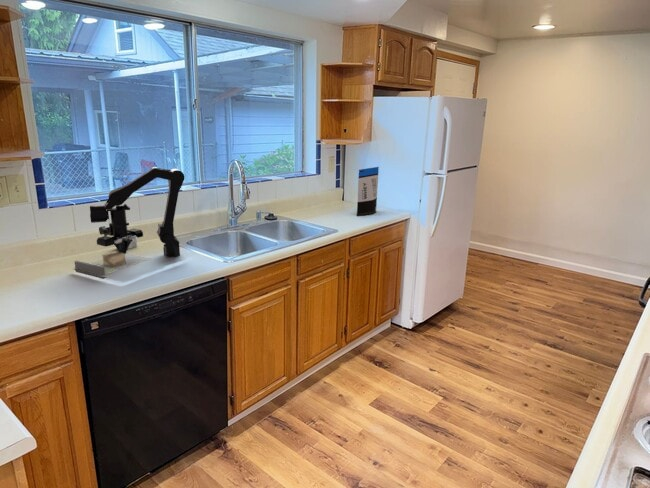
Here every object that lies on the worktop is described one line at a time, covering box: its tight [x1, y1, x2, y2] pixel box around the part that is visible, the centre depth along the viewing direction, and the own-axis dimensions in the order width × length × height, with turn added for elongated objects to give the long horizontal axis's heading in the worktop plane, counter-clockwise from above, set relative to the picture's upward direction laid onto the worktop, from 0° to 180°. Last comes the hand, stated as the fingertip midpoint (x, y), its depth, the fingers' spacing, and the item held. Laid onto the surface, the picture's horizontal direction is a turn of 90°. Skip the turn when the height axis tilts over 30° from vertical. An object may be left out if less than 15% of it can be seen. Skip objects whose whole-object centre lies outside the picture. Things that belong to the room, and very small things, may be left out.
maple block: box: [102, 251, 126, 268], centre depth 183 cm, size 6×6×4 cm
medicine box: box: [127, 235, 138, 250], centre depth 205 cm, size 8×4×9 cm, turn 148°
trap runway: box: [73, 252, 152, 280], centre depth 184 cm, size 16×24×4 cm, turn 154°
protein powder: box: [356, 166, 380, 217], centre depth 292 cm, size 10×24×30 cm, turn 143°
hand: (122, 256), depth 187 cm, fingers closed
